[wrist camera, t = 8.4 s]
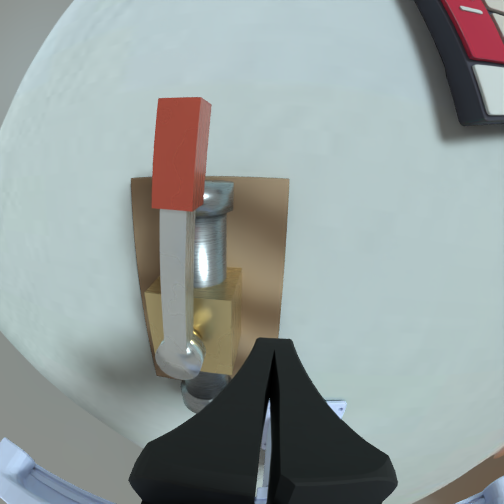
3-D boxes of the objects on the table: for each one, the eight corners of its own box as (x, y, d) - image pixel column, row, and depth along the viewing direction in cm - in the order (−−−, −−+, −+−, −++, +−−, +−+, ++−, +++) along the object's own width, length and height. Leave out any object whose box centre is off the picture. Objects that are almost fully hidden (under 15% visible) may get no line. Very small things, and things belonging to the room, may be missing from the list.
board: (273, 384, 25) (272, 390, 24) (159, 370, 25) (156, 375, 25) (288, 178, 19) (289, 179, 18) (135, 177, 20) (130, 178, 19)
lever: (165, 358, 16) (155, 377, 15) (165, 105, 12) (149, 99, 10) (206, 366, 16) (199, 387, 15) (220, 104, 11) (211, 97, 10)
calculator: (496, -27, 6) (561, 121, 10) (477, -12, 10) (532, 123, 14) (406, -53, 8) (490, 121, 12) (391, -28, 12) (458, 126, 16)
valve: (241, 383, 24) (232, 433, 19) (186, 376, 25) (167, 422, 19) (244, 180, 19) (229, 191, 13) (169, 179, 19) (129, 191, 13)
